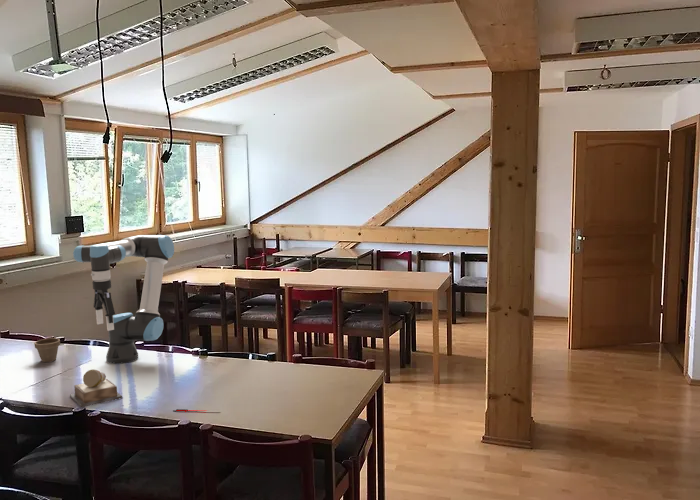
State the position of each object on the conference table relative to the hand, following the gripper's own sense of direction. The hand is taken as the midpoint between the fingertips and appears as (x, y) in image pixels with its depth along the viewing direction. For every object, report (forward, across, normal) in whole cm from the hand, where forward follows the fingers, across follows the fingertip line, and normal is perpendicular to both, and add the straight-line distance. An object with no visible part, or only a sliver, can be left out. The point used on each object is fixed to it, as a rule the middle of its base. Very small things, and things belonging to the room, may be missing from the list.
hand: (105, 327), depth 263 cm
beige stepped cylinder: (+19, +16, -11) cm, 28 cm away
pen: (+24, +60, +13) cm, 66 cm away
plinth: (+24, +18, -12) cm, 32 cm away
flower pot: (+26, -53, -12) cm, 61 cm away
